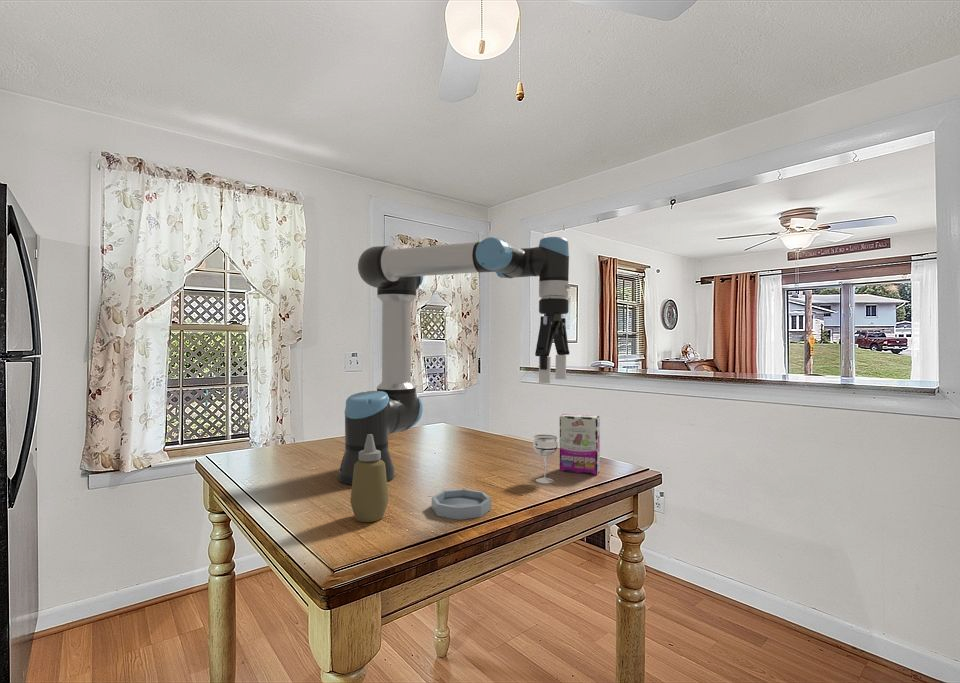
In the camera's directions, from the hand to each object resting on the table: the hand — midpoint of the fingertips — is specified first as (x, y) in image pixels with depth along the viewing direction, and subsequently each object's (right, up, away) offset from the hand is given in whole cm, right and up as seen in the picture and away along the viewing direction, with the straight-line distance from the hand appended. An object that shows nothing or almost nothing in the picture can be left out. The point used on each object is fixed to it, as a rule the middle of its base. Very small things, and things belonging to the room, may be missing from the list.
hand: (553, 381), depth 127 cm
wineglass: (-1, -28, +8) cm, 29 cm away
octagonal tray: (-23, -28, -15) cm, 39 cm away
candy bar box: (+10, -28, +18) cm, 35 cm away
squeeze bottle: (-43, -28, -21) cm, 55 cm away
